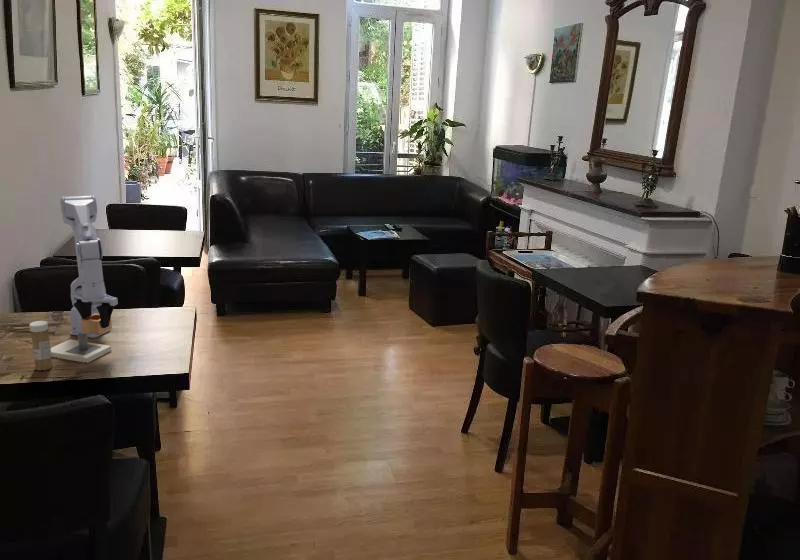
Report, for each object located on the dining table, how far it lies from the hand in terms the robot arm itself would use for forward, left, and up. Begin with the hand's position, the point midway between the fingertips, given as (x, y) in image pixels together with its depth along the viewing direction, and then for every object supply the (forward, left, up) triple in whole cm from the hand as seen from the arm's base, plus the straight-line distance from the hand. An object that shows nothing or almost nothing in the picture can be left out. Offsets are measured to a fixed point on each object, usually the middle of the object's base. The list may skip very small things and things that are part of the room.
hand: (96, 325), depth 192 cm
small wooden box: (0, 0, -1) cm, 1 cm away
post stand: (-7, -1, -9) cm, 12 cm away
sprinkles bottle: (-8, -13, -10) cm, 18 cm away
